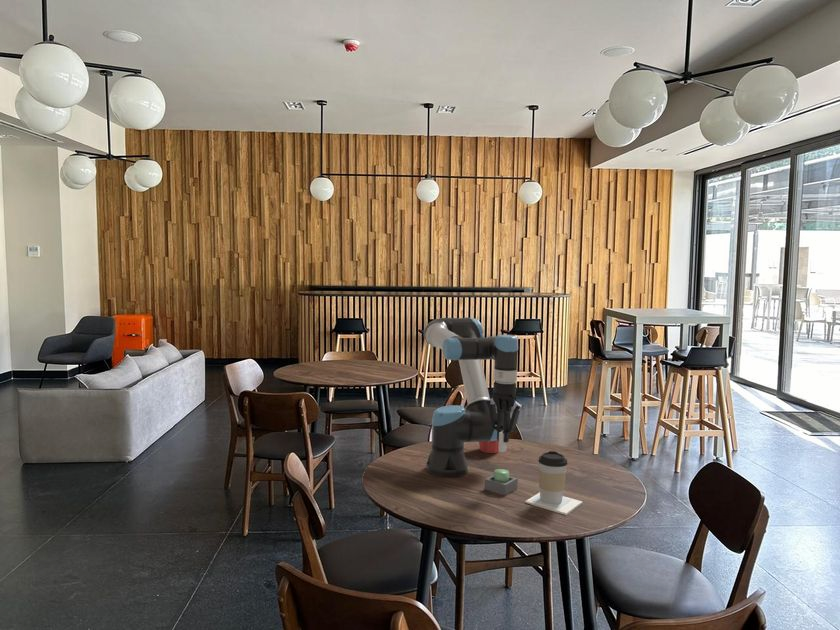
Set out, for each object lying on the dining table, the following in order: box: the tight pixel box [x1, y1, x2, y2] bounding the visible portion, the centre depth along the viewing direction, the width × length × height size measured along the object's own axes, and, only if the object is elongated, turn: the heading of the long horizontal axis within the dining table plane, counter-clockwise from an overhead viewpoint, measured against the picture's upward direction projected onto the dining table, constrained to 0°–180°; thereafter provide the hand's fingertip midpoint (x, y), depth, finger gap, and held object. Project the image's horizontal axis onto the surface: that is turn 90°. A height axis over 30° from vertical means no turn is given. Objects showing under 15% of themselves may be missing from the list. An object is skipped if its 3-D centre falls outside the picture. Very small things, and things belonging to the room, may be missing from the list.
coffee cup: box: [537, 450, 568, 504], centre depth 192 cm, size 9×9×15 cm
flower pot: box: [478, 440, 500, 454], centre depth 243 cm, size 11×11×10 cm
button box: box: [484, 474, 519, 496], centre depth 202 cm, size 8×8×4 cm
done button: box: [493, 468, 510, 483], centre depth 202 cm, size 5×5×4 cm
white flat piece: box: [524, 491, 583, 516], centre depth 192 cm, size 14×12×1 cm
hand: (502, 450), depth 201 cm, fingers closed
